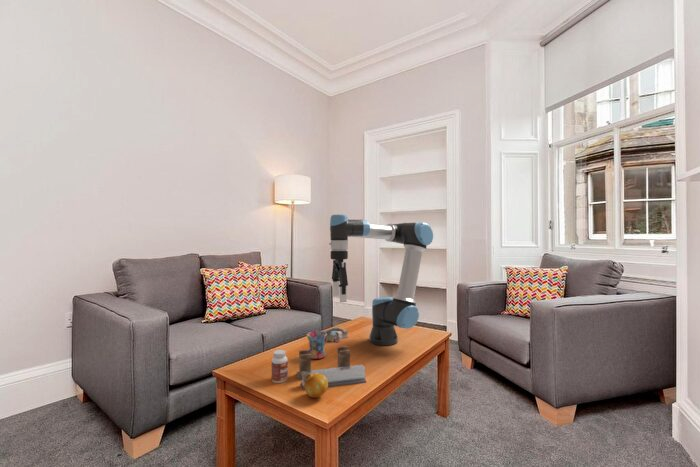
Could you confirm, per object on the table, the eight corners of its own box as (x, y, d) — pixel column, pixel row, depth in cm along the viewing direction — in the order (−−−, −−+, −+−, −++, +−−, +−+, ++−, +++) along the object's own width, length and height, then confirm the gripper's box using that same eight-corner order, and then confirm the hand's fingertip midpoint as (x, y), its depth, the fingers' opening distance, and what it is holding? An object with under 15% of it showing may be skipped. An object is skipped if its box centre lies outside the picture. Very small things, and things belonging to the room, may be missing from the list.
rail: (362, 375, 131) (362, 364, 131) (365, 379, 128) (364, 367, 128) (302, 383, 125) (302, 371, 125) (303, 386, 122) (302, 374, 122)
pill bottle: (282, 384, 125) (281, 355, 125) (268, 382, 128) (268, 353, 128) (290, 377, 131) (290, 350, 131) (277, 375, 134) (277, 348, 133)
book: (328, 346, 168) (327, 336, 168) (312, 341, 176) (311, 332, 176) (353, 337, 183) (353, 328, 183) (337, 333, 191) (337, 324, 191)
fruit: (301, 401, 113) (301, 377, 113) (308, 390, 121) (308, 368, 121) (325, 403, 112) (324, 379, 112) (330, 391, 120) (330, 369, 120)
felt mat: (361, 375, 133) (361, 374, 133) (366, 382, 127) (366, 380, 127) (301, 383, 127) (301, 381, 127) (303, 390, 121) (303, 388, 121)
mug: (315, 362, 147) (315, 338, 147) (302, 357, 153) (302, 334, 153) (335, 354, 156) (334, 332, 156) (321, 350, 162) (321, 328, 162)
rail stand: (348, 367, 141) (348, 345, 141) (352, 373, 135) (352, 350, 135) (296, 373, 135) (296, 350, 135) (298, 379, 129) (298, 355, 129)
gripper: (325, 248, 155) (325, 294, 155) (336, 251, 131) (337, 305, 131) (340, 248, 157) (341, 293, 157) (355, 251, 133) (355, 304, 133)
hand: (339, 299), depth 144 cm, fingers open, 13 cm apart
